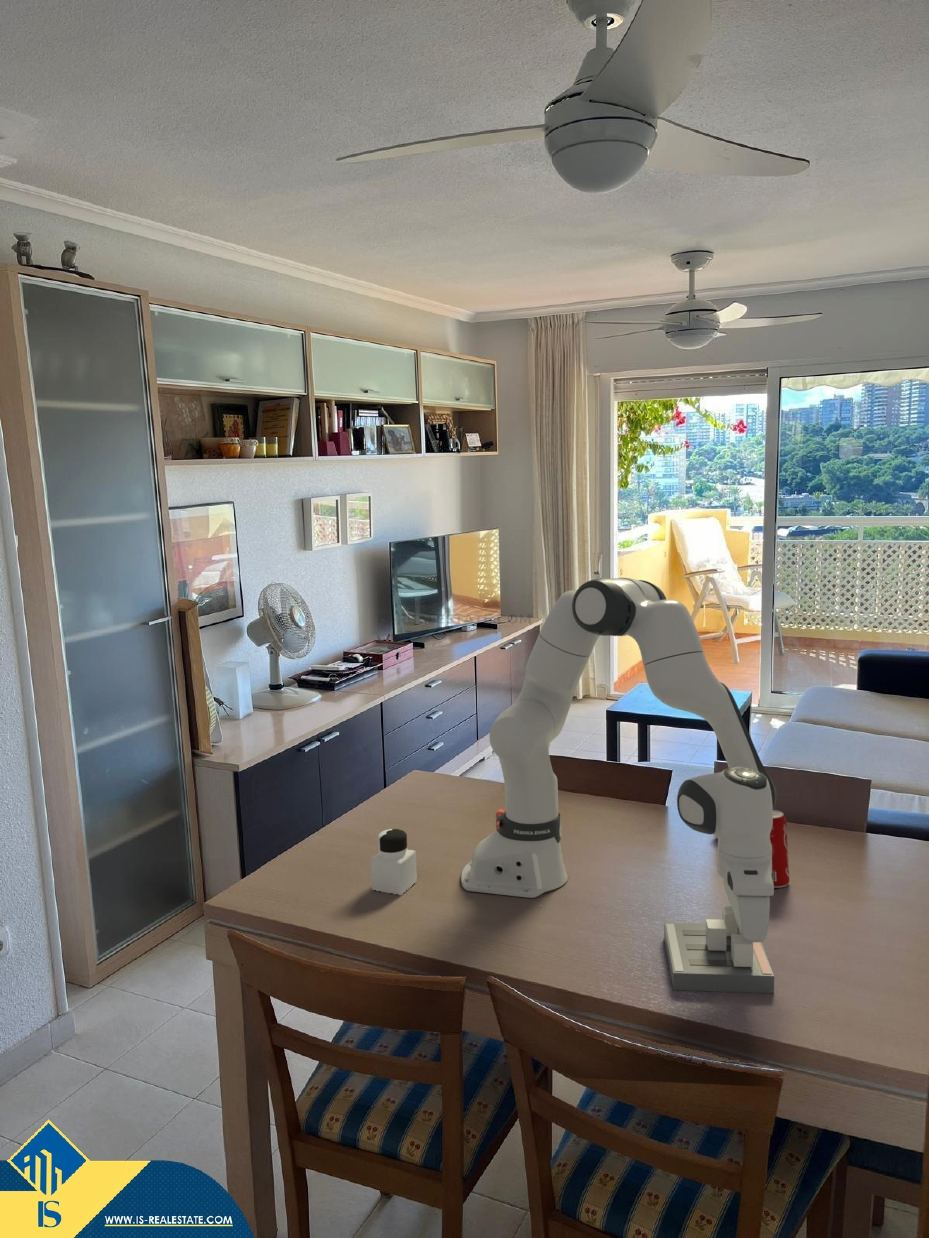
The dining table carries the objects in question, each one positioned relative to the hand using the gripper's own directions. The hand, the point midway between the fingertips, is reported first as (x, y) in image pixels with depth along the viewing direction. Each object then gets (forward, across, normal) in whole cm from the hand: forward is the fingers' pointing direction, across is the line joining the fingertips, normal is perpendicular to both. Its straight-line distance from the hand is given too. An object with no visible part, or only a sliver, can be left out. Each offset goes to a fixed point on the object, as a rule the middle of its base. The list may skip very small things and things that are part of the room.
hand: (743, 940), depth 156 cm
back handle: (+1, -5, -1) cm, 5 cm away
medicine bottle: (+5, -28, -66) cm, 72 cm away
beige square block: (+1, 0, -5) cm, 5 cm away
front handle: (+1, +5, -1) cm, 5 cm away
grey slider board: (+4, 0, -5) cm, 6 cm away
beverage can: (+5, -32, +12) cm, 35 cm away
